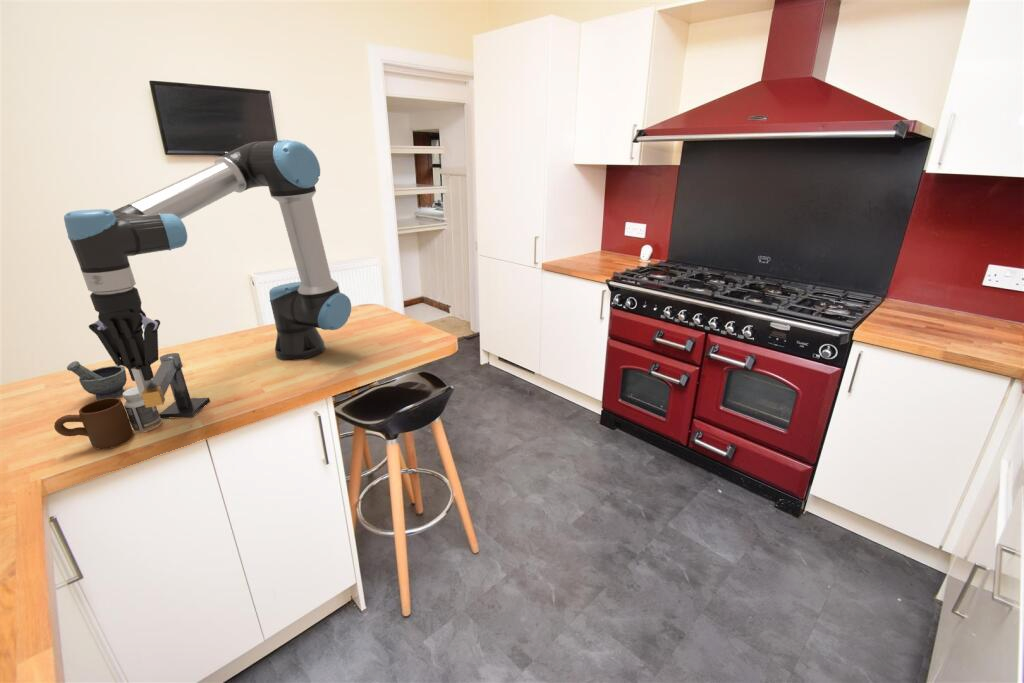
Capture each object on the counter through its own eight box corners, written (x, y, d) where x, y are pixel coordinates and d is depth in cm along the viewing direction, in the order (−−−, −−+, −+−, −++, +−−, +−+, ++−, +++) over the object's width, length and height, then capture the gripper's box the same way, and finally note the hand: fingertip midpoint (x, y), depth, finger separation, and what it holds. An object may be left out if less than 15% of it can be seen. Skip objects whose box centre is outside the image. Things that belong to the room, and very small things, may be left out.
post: (210, 401, 124) (199, 362, 120) (193, 417, 117) (180, 375, 112) (179, 402, 124) (166, 363, 119) (160, 418, 116) (146, 376, 112)
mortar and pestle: (124, 384, 134) (110, 346, 130) (139, 392, 129) (125, 353, 125) (75, 401, 125) (58, 360, 121) (88, 410, 121) (71, 368, 116)
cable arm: (165, 366, 117) (161, 354, 116) (183, 363, 118) (180, 352, 117) (142, 408, 97) (138, 394, 96) (165, 404, 99) (161, 390, 98)
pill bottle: (164, 418, 116) (152, 383, 113) (158, 430, 111) (146, 393, 108) (137, 423, 114) (124, 387, 111) (130, 435, 109) (116, 398, 106)
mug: (67, 463, 99) (50, 425, 96) (66, 448, 105) (50, 412, 101) (136, 441, 107) (123, 405, 104) (132, 428, 112) (119, 393, 109)
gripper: (64, 295, 90) (104, 402, 99) (133, 294, 90) (167, 400, 99) (94, 285, 97) (129, 386, 106) (158, 284, 97) (188, 384, 106)
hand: (147, 393), depth 102 cm, fingers closed
